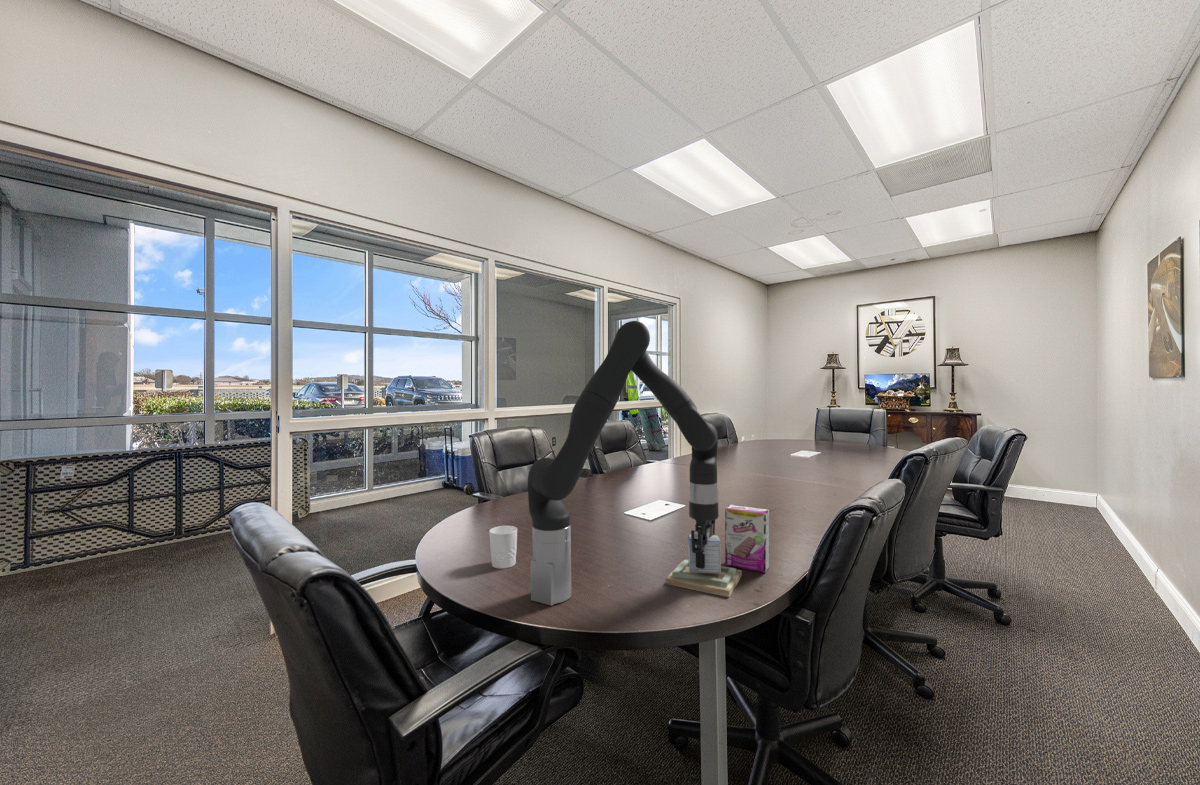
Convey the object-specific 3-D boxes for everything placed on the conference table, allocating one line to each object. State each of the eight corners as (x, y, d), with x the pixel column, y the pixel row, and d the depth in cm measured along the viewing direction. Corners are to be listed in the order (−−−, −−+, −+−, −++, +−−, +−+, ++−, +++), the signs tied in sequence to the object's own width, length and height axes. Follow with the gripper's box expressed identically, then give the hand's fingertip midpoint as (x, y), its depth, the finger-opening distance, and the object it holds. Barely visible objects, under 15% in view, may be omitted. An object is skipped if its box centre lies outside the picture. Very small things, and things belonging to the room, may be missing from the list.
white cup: (484, 564, 132) (484, 529, 132) (507, 557, 137) (507, 523, 137) (499, 572, 126) (498, 536, 126) (523, 564, 132) (522, 529, 132)
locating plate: (729, 597, 109) (729, 586, 109) (665, 584, 117) (665, 574, 117) (741, 576, 122) (741, 566, 122) (683, 565, 129) (683, 556, 129)
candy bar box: (724, 566, 128) (724, 508, 128) (729, 560, 133) (728, 504, 133) (766, 574, 123) (765, 513, 123) (769, 567, 127) (769, 508, 127)
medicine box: (718, 567, 121) (718, 534, 121) (720, 574, 117) (720, 540, 117) (688, 566, 122) (687, 534, 122) (689, 573, 118) (689, 539, 118)
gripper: (710, 507, 111) (710, 576, 111) (724, 494, 124) (725, 557, 124) (680, 504, 115) (681, 570, 115) (697, 492, 127) (698, 552, 128)
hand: (703, 563), depth 119 cm, fingers closed on medicine box, 5 cm apart
